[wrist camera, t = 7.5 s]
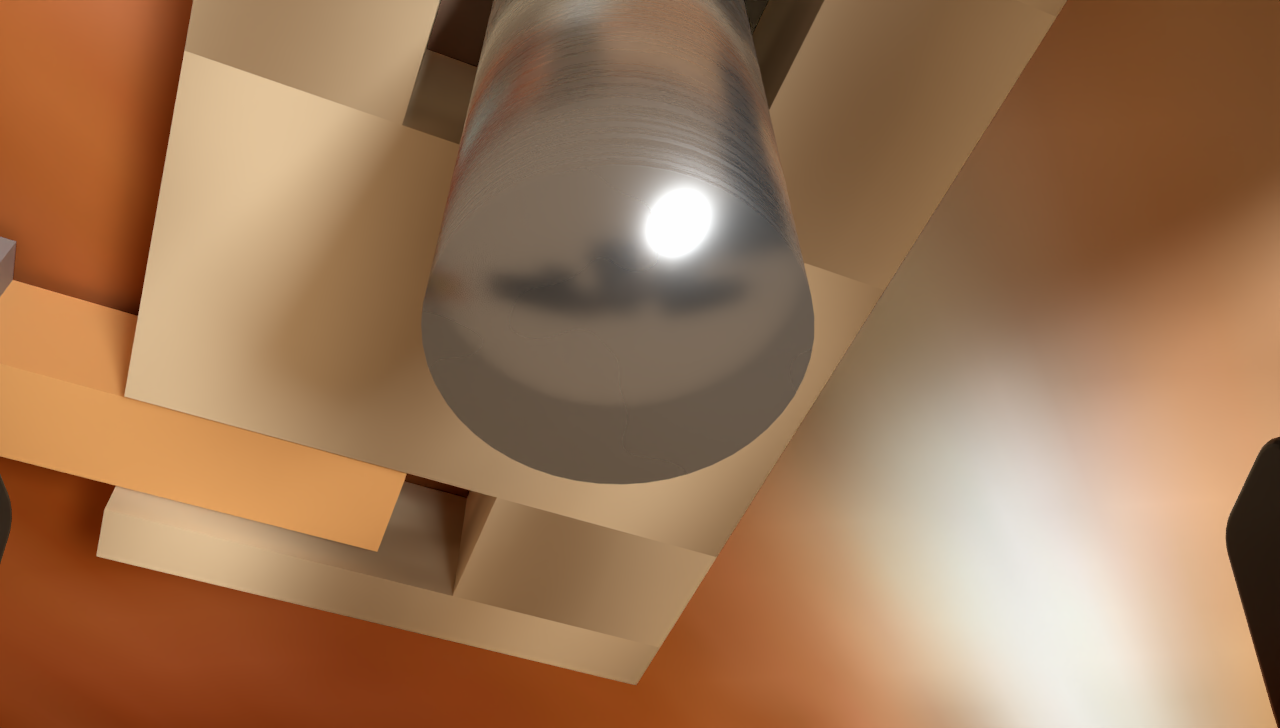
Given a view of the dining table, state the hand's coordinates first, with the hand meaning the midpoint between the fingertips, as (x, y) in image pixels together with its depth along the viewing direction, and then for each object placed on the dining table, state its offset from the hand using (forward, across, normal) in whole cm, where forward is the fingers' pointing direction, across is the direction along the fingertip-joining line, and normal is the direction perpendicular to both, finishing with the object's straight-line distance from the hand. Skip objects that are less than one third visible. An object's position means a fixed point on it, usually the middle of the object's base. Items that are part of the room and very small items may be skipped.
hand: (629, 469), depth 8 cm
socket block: (+11, +2, +4) cm, 12 cm away
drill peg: (+11, 0, 0) cm, 11 cm away
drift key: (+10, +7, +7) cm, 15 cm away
